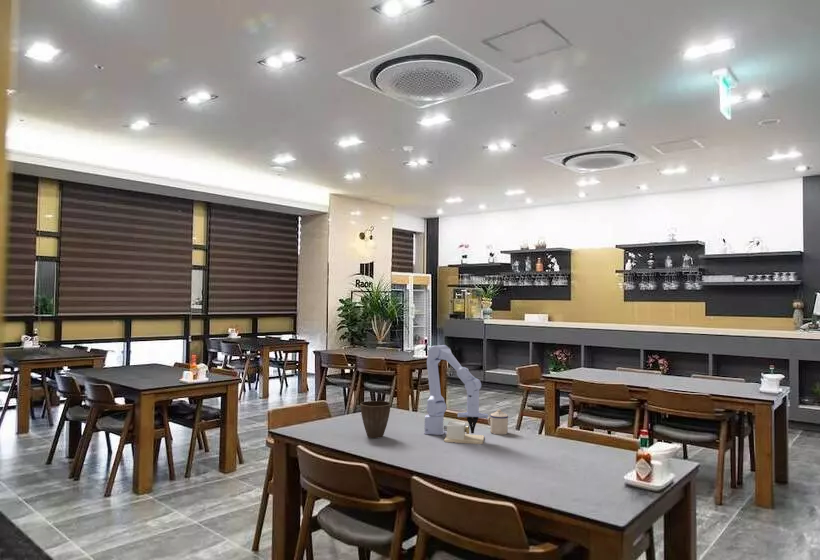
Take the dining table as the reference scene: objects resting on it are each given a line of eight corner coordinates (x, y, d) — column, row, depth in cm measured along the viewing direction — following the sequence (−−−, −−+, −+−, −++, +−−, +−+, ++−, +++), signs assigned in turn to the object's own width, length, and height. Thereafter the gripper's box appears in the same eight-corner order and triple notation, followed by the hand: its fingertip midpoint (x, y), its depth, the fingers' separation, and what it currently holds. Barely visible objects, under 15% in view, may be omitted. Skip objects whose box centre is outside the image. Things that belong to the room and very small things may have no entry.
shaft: (443, 433, 274) (443, 425, 274) (444, 431, 278) (444, 423, 278) (468, 434, 272) (468, 426, 272) (469, 432, 276) (469, 424, 276)
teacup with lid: (511, 433, 289) (512, 410, 290) (499, 435, 284) (499, 412, 284) (494, 429, 299) (494, 406, 299) (482, 431, 293) (482, 408, 294)
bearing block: (444, 441, 269) (444, 426, 269) (447, 435, 283) (447, 420, 283) (482, 444, 266) (482, 428, 266) (483, 437, 280) (484, 422, 280)
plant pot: (354, 438, 273) (354, 404, 273) (367, 431, 286) (368, 399, 287) (382, 441, 267) (383, 407, 268) (395, 435, 281) (395, 402, 281)
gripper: (457, 405, 272) (456, 433, 271) (487, 406, 269) (487, 435, 269) (458, 402, 279) (457, 430, 278) (488, 404, 276) (487, 432, 276)
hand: (472, 432), depth 274 cm, fingers closed
